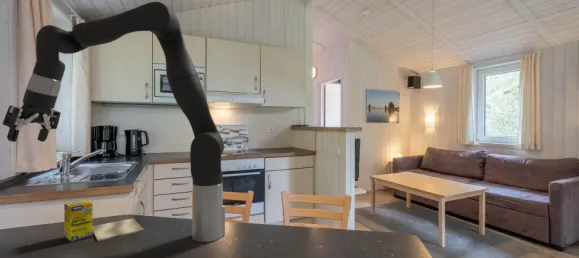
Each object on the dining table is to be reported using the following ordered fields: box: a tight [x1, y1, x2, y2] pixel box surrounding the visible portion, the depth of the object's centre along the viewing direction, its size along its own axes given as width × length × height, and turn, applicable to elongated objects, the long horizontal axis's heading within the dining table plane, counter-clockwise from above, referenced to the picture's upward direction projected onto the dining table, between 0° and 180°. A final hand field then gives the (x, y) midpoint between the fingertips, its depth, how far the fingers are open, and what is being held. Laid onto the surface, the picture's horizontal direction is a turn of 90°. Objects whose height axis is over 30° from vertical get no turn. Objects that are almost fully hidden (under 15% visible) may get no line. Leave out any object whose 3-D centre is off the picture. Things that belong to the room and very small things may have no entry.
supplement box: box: [63, 199, 94, 244], centre depth 89 cm, size 6×6×11 cm
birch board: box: [92, 218, 145, 242], centre depth 96 cm, size 13×14×1 cm
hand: (27, 141), depth 88 cm, fingers open, 8 cm apart
